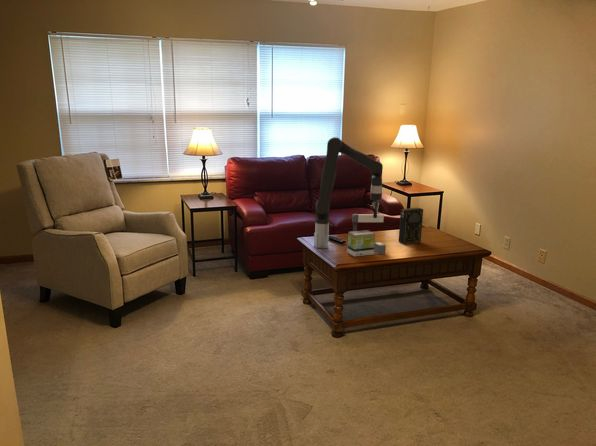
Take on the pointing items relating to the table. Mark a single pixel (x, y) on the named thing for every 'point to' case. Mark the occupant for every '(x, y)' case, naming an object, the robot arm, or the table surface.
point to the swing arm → (367, 218)
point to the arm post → (354, 226)
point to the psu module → (379, 248)
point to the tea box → (361, 243)
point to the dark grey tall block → (410, 225)
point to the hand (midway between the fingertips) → (375, 217)
